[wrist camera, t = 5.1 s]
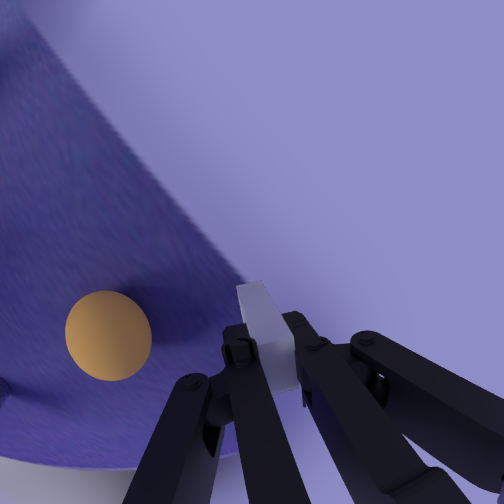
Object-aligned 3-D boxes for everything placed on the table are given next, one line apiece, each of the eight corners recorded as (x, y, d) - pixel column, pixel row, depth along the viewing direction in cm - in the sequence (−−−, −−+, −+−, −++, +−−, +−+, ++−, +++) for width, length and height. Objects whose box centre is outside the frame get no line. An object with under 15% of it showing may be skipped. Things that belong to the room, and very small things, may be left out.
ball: (100, 353, 18) (76, 400, 12) (74, 285, 16) (35, 319, 11) (167, 345, 18) (157, 396, 13) (145, 271, 17) (121, 306, 12)
